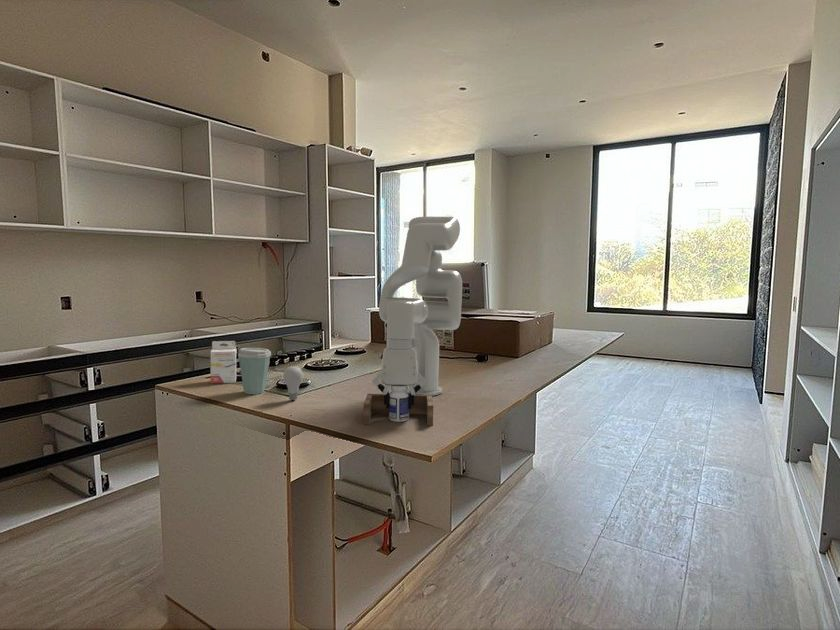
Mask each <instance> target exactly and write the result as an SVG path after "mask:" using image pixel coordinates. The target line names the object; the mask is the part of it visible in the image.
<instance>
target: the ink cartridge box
mask: <svg viewBox="0 0 840 630" xmlns="http://www.w3.org/2000/svg"><path fill="white" fill-rule="evenodd" d="M223 344H224V345H223ZM236 347H237V346H236V341H235V340H218V341H215V340H213V341H212V342H211V350H210V384H211V385H212V384H234V383H236V382H237V349H236Z"/></svg>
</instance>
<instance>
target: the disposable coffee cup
mask: <svg viewBox="0 0 840 630" xmlns="http://www.w3.org/2000/svg"><path fill="white" fill-rule="evenodd" d="M271 356H272V351H270V349H268V348H262V347H243V348H240V349H239V351H238V353H237V357H238V360H239V362H238V363H239V367H240V375H241V380H242V381H241V382H242V387H243V391H244V394H247V395H251V394H253V395H260V394H259V393H261V394H263V392H264V391H265V389H266V385H267V379H268V372H269V365H270V359H271Z"/></svg>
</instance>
